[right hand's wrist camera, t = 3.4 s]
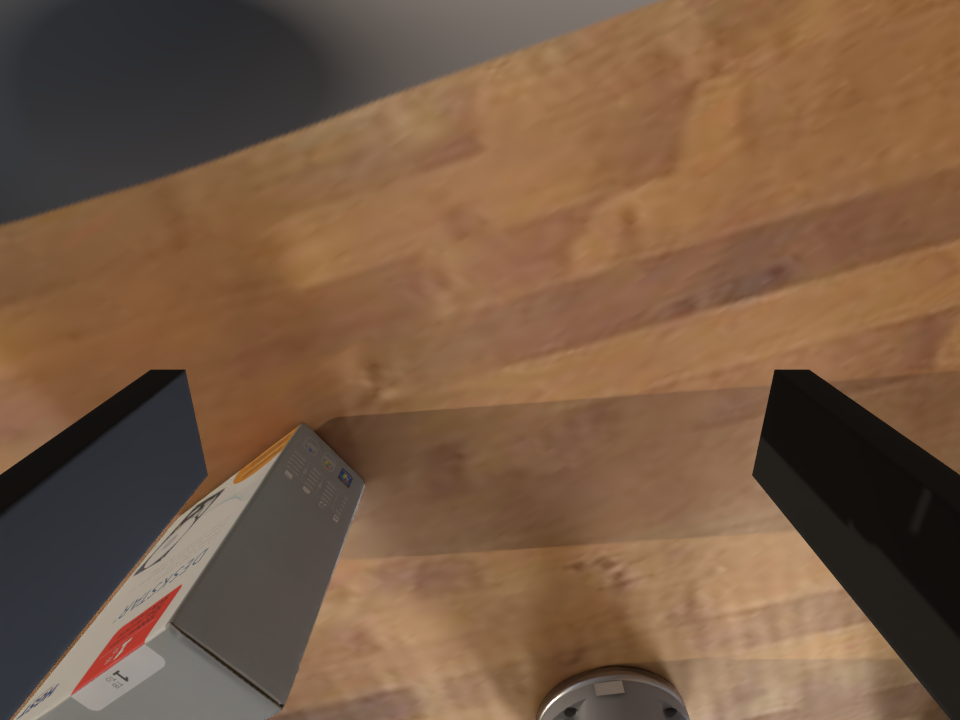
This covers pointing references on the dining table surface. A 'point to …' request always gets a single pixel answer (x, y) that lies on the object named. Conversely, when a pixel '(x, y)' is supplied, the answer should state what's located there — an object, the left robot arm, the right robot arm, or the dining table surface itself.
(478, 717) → the dining table surface
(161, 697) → the hard drive box
